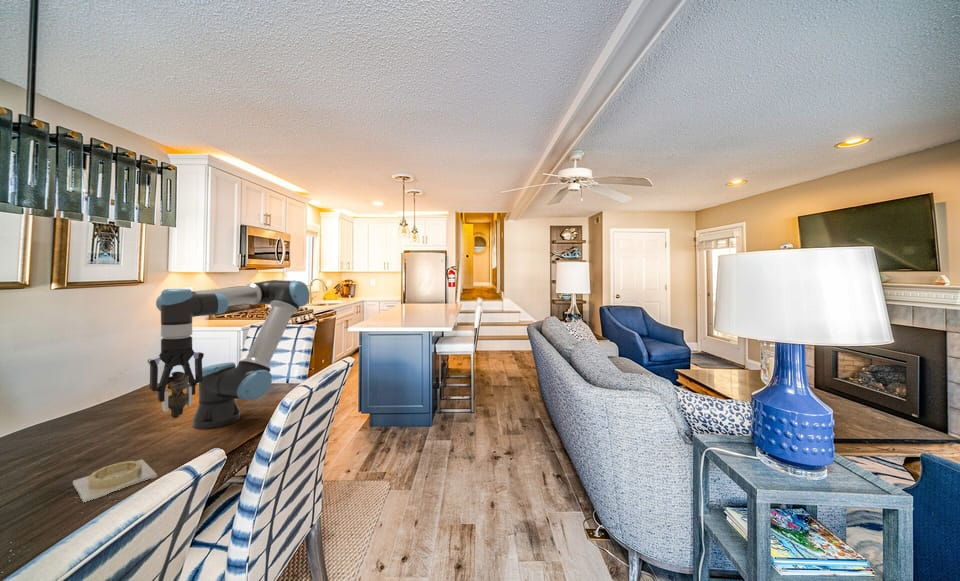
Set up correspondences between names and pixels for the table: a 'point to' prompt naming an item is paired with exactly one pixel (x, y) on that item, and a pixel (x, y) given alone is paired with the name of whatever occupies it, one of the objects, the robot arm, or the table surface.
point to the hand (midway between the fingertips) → (177, 407)
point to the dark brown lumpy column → (177, 393)
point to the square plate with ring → (112, 479)
